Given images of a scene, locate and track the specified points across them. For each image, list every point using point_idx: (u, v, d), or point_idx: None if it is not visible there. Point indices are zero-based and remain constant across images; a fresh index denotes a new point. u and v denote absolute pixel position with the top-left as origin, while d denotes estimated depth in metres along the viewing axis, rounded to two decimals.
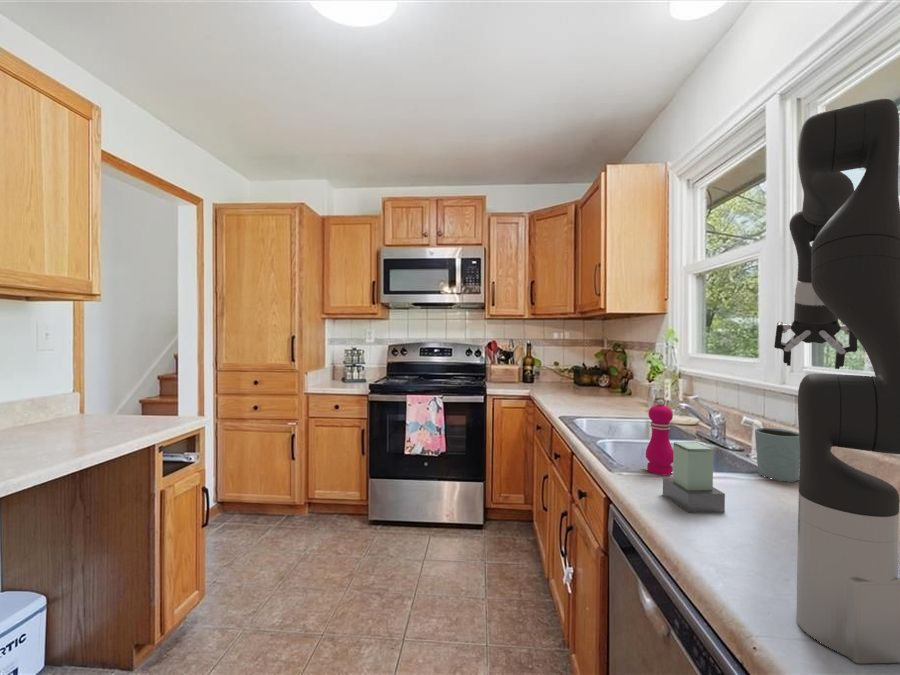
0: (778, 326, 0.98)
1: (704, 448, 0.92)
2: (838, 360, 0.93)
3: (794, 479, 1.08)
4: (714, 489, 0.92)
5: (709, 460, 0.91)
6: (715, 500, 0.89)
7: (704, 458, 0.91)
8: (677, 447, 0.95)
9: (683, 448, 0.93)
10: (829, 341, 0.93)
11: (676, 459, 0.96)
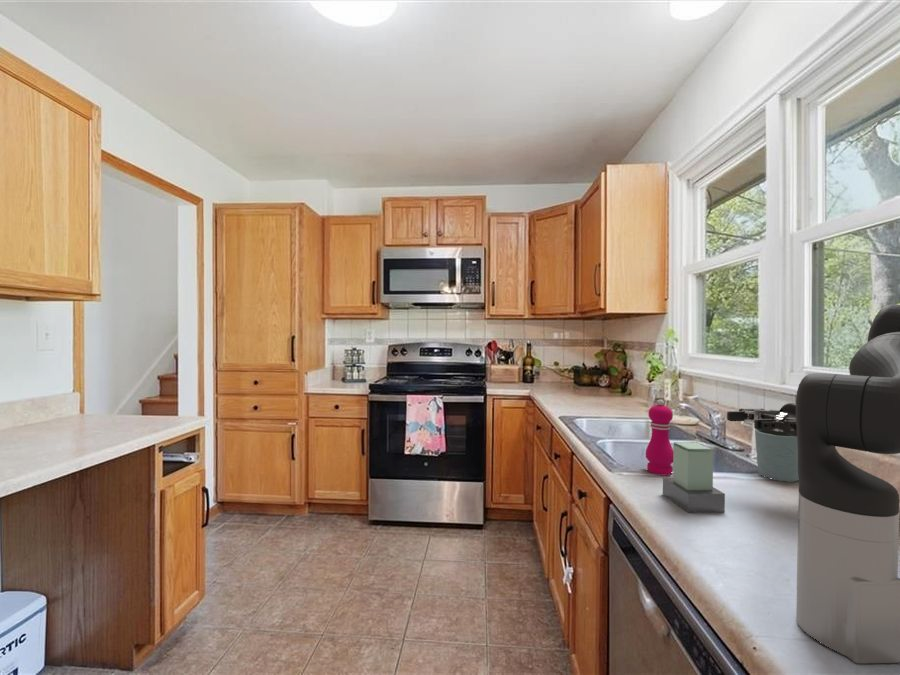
0: None
1: (704, 448, 0.92)
2: (765, 419, 0.90)
3: (794, 479, 1.08)
4: (714, 489, 0.92)
5: (709, 460, 0.91)
6: (715, 500, 0.89)
7: (704, 458, 0.91)
8: (677, 447, 0.95)
9: (683, 448, 0.93)
10: (780, 414, 0.92)
11: (676, 459, 0.96)
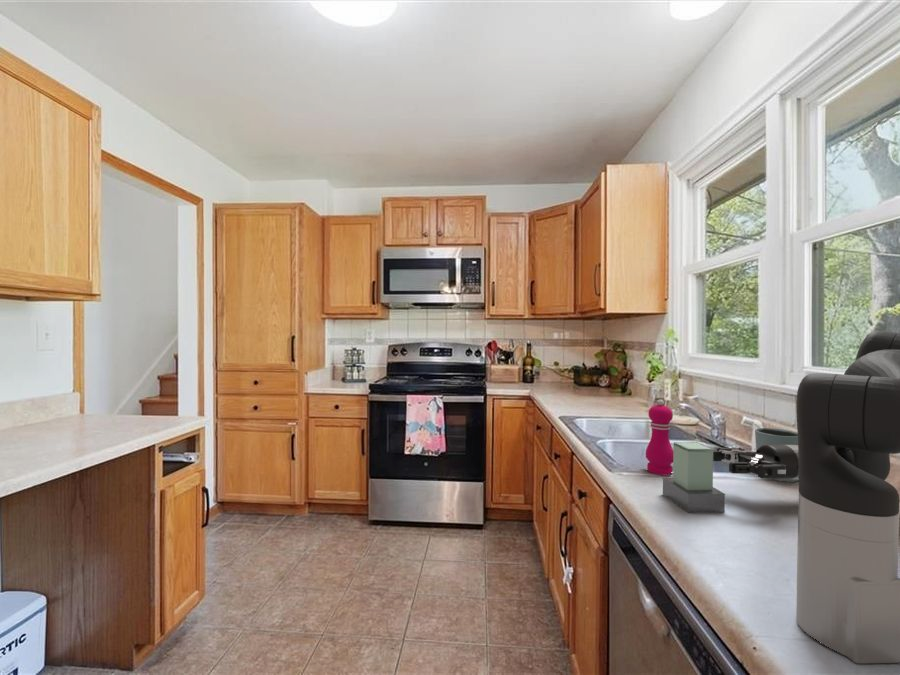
0: None
1: (704, 448, 0.92)
2: (740, 462, 0.90)
3: (794, 479, 1.08)
4: (714, 489, 0.92)
5: (709, 460, 0.91)
6: (715, 500, 0.89)
7: (704, 458, 0.91)
8: (677, 447, 0.95)
9: (683, 448, 0.93)
10: (755, 457, 0.92)
11: (676, 459, 0.96)
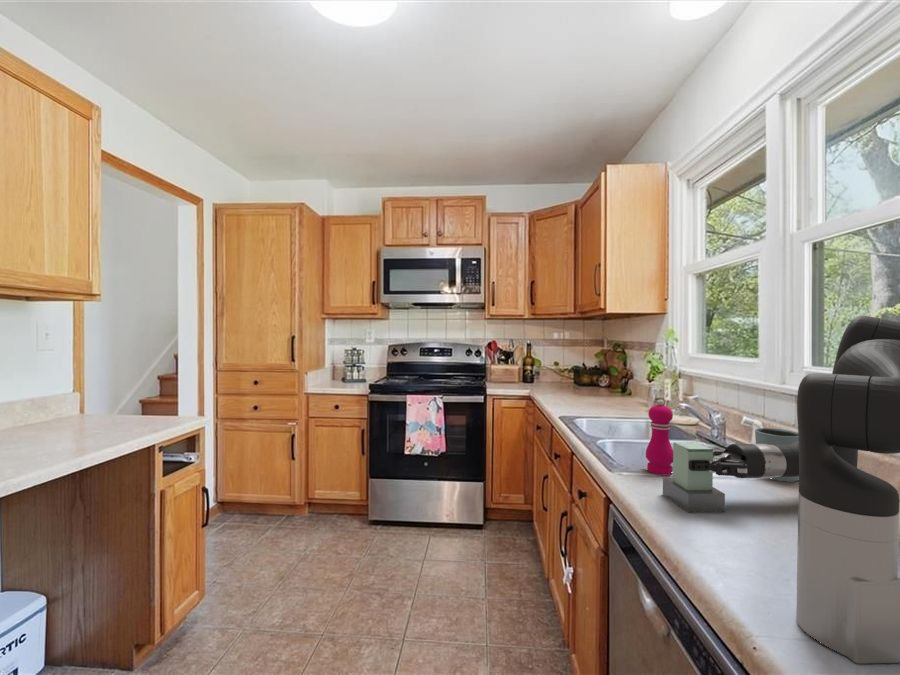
0: None
1: (704, 448, 0.92)
2: (699, 460, 0.91)
3: (794, 479, 1.08)
4: (714, 489, 0.92)
5: None
6: (715, 500, 0.89)
7: (704, 458, 0.91)
8: (677, 447, 0.95)
9: (683, 448, 0.93)
10: (719, 456, 0.92)
11: (676, 459, 0.96)
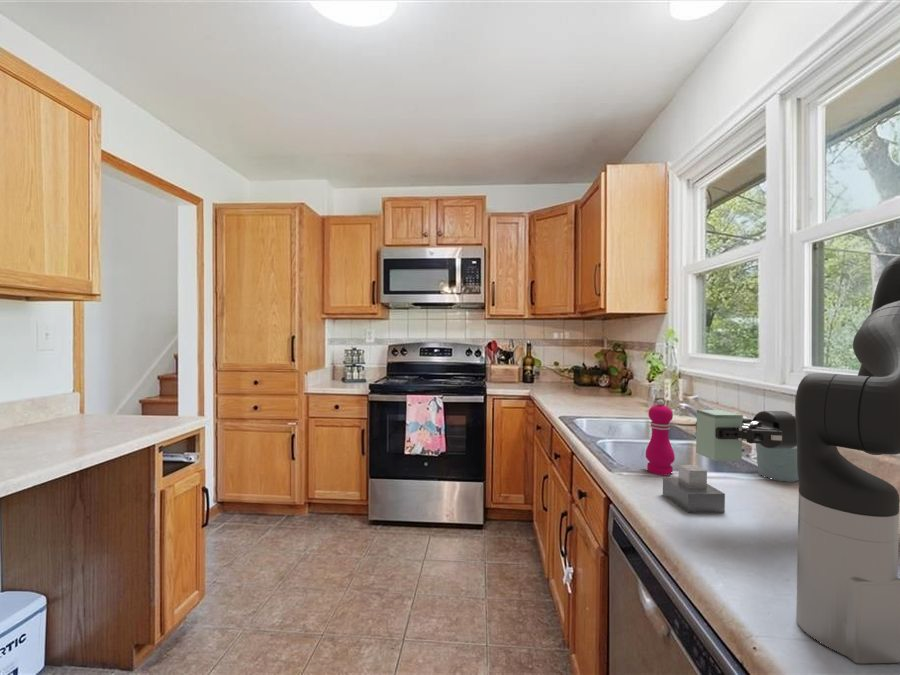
0: None
1: (732, 414, 0.83)
2: (728, 427, 0.82)
3: (794, 479, 1.08)
4: (714, 489, 0.92)
5: None
6: (715, 500, 0.89)
7: (733, 425, 0.82)
8: (701, 414, 0.86)
9: (709, 415, 0.84)
10: (749, 423, 0.83)
11: (700, 428, 0.86)
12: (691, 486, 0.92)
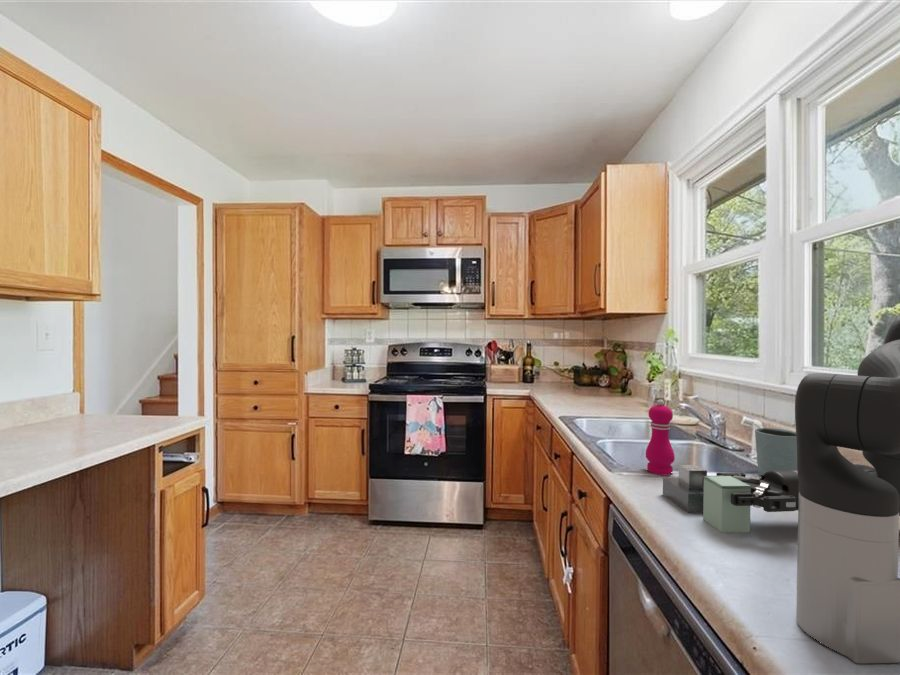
0: None
1: (740, 484, 0.81)
2: (743, 493, 0.79)
3: None
4: None
5: None
6: None
7: None
8: (708, 482, 0.84)
9: (716, 484, 0.82)
10: (760, 486, 0.81)
11: (707, 495, 0.85)
12: (691, 486, 0.92)
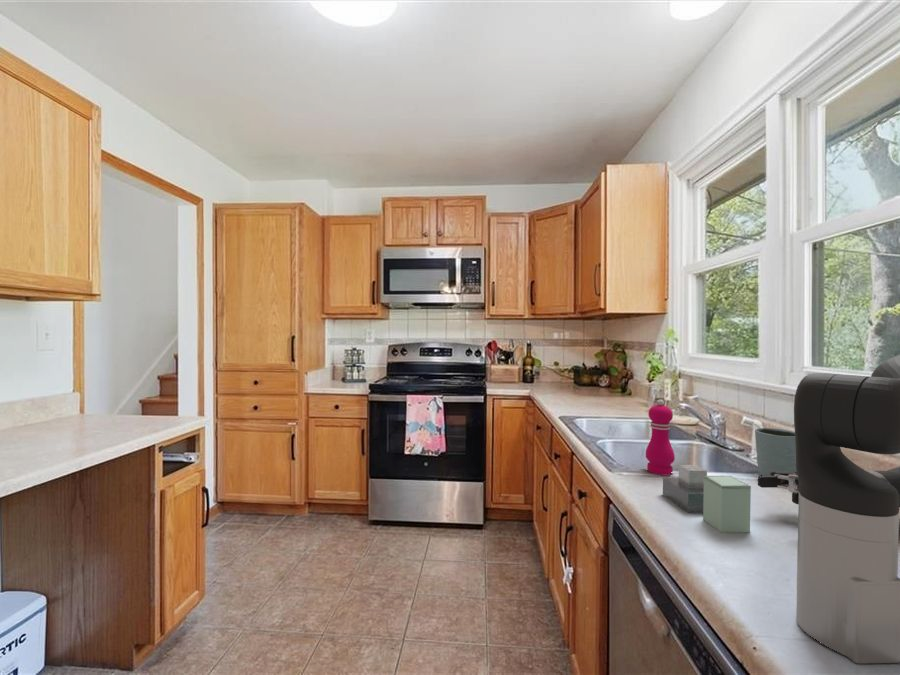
0: None
1: (740, 484, 0.81)
2: None
3: None
4: None
5: (746, 498, 0.80)
6: None
7: (740, 496, 0.80)
8: (708, 482, 0.84)
9: (716, 484, 0.82)
10: None
11: (707, 495, 0.85)
12: (691, 486, 0.92)
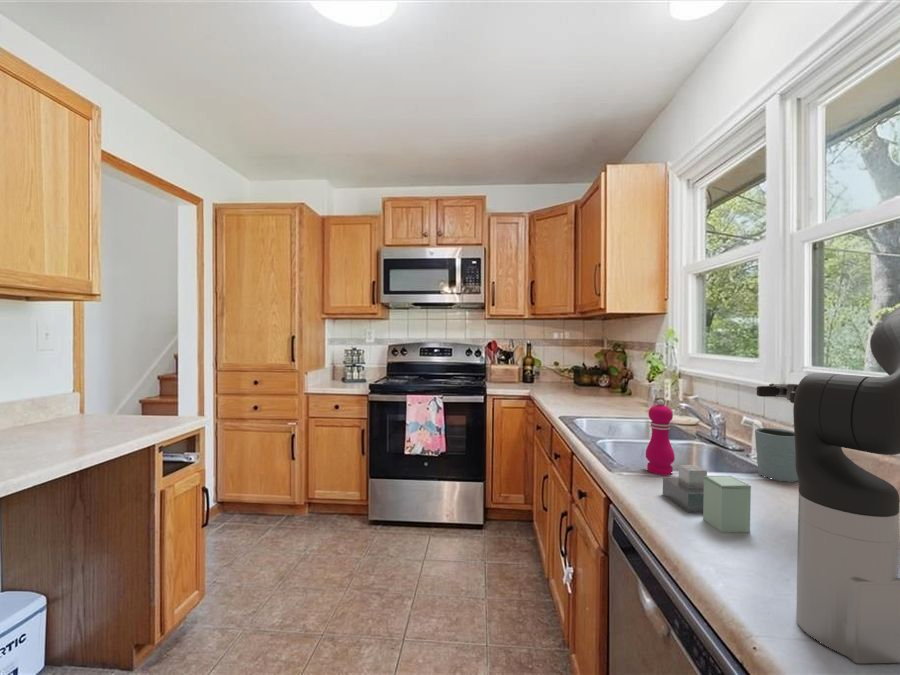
0: None
1: (740, 484, 0.81)
2: None
3: (794, 479, 1.08)
4: None
5: (746, 498, 0.80)
6: None
7: (740, 496, 0.80)
8: (708, 482, 0.84)
9: (716, 484, 0.82)
10: None
11: (707, 495, 0.85)
12: (691, 486, 0.92)
